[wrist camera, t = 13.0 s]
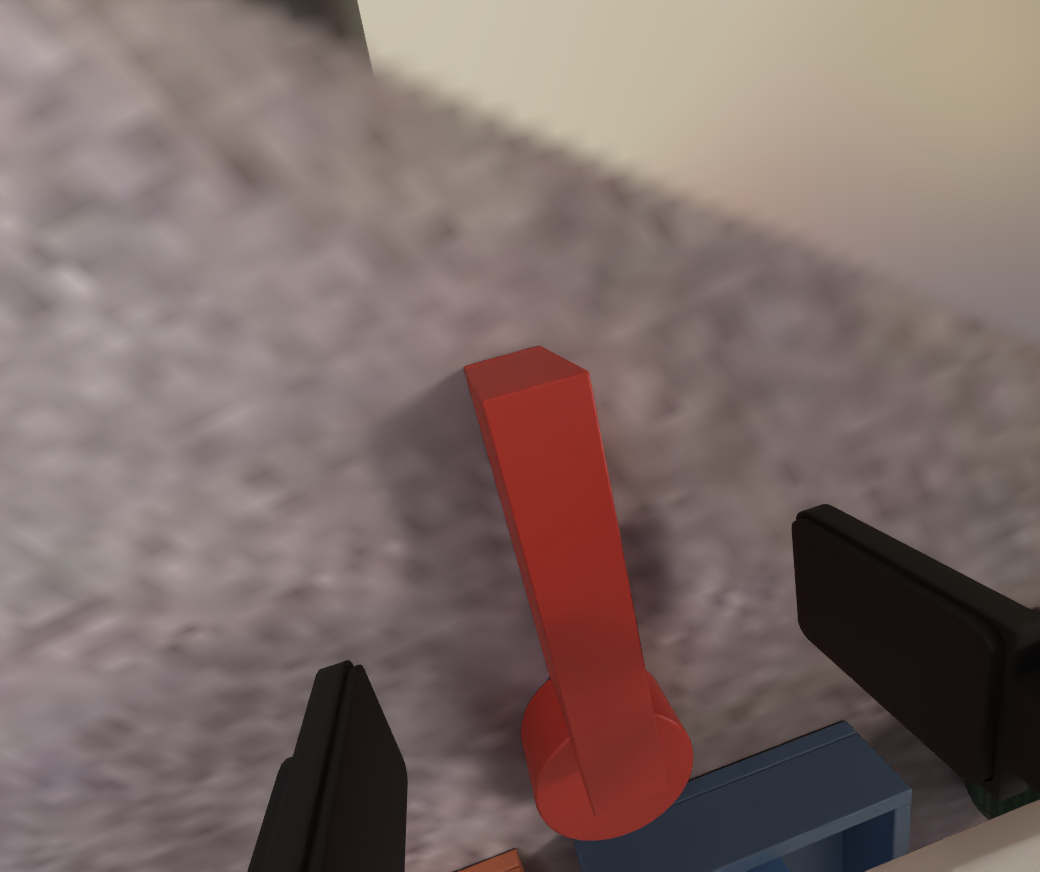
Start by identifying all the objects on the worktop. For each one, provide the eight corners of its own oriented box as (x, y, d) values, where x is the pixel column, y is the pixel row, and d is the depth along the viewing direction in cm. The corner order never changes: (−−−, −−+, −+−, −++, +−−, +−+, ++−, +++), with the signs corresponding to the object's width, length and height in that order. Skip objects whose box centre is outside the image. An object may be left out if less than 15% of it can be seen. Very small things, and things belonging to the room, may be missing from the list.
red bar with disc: (405, 381, 11) (399, 424, 7) (594, 330, 11) (664, 349, 8) (538, 792, 15) (570, 928, 12) (669, 743, 16) (733, 861, 12)
